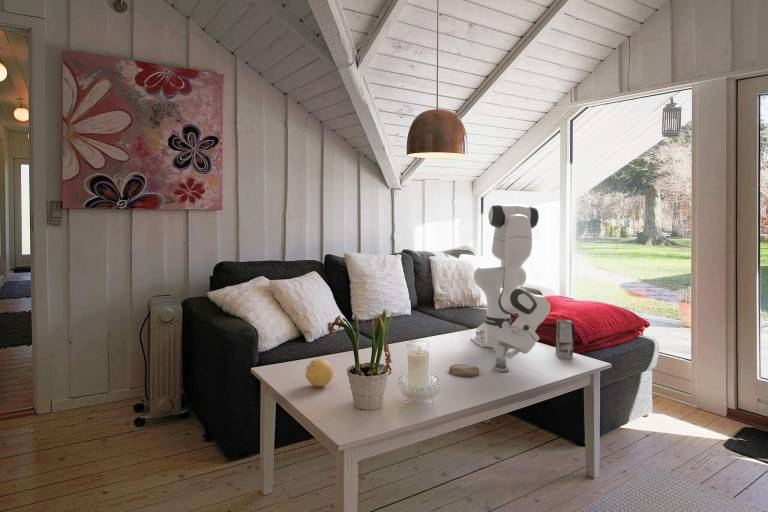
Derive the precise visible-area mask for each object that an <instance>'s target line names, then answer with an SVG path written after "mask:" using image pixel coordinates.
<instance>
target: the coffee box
mask: <svg viewBox="0 0 768 512" xmlns="http://www.w3.org/2000/svg"><path fill="white" fill-rule="evenodd" d="M555 336H556V337H555V339H556V340H555V354H556V356H557V358H558V359H565V358H566V360H567V359H568V360H572V359H573V355H574V342H575V341H574V336H575V322H574V321H573V320H572V319H556V335H555Z"/></svg>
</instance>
